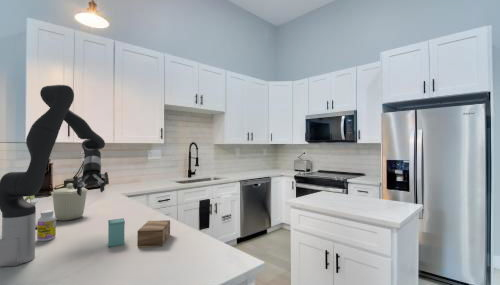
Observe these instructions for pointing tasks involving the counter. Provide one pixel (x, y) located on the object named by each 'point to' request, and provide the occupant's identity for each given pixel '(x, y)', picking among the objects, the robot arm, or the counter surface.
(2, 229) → the robot arm
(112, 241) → the teal lidded bin
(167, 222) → the wooden crate
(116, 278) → the counter surface
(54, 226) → the supplement bottle
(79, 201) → the canister
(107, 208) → the counter surface
